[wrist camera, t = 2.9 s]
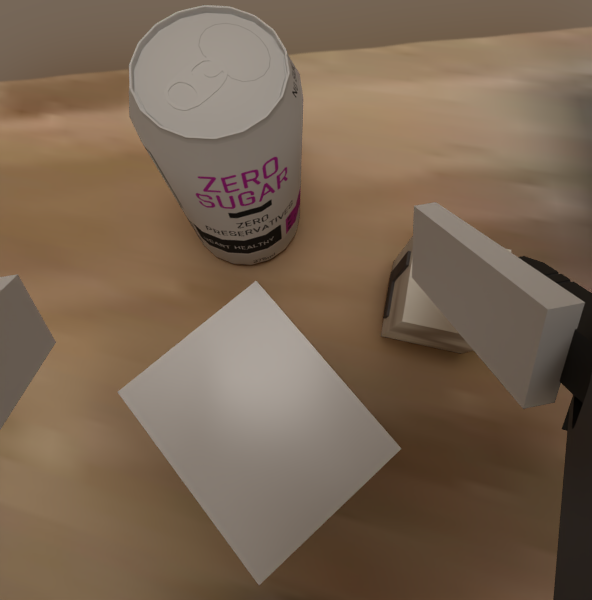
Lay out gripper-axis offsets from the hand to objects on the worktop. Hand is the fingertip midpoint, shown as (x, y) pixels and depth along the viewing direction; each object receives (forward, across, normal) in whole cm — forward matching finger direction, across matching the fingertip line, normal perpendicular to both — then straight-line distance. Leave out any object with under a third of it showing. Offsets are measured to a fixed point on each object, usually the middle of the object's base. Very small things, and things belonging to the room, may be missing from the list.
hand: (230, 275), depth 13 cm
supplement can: (+19, 0, -5) cm, 19 cm away
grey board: (+8, -1, -15) cm, 17 cm away
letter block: (+12, +13, -11) cm, 21 cm away
